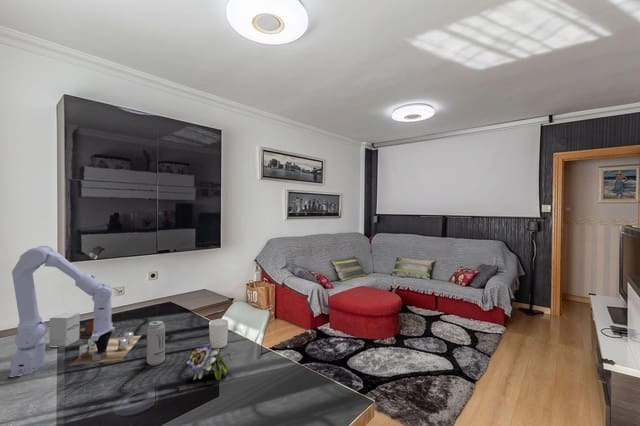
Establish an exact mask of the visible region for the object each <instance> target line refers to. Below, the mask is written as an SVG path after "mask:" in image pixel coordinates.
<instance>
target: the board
mask: <svg viewBox="0 0 640 426" xmlns="http://www.w3.org/2000/svg"><path fill="white" fill-rule="evenodd" d="M141 337H142V335H133V343H130V344H128V349H127V350H124V351H118V340H119V339H121V338H124V336H120V337H110V339H109V342H108V346H107V350H106V351H107V358H105V359H103V360H101V361H95V362H92V361H91V355H90V356H89V357H86V358H80V355H78V357H77V358H76V359H75V360H74V361H73V362H72V363H71V364H69V366H76V365H77V366H78V365H86V364H87V365H88V364H95V363H97V364H98V363H105V362H114V361H122V360H124V359H125V357H126V356H127V355H128V353H129V352H130V350H132V348H133V347H134V346H135V345H136V344H137V342H138V341H139V340H140V338H141ZM97 350H98V349H95V350H91V353H92V352H95V351H97Z"/></svg>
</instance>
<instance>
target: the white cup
mask: <svg viewBox="0 0 640 426" xmlns="http://www.w3.org/2000/svg"><path fill="white" fill-rule="evenodd" d="M208 326H209V327H208V330H209V331H208V332H209V343H210V342H211V341H213V342H214V345H213V347H212V349H221V348H225V347H227V345H228V335H229V320H228V319H226V318H217V319H212V320H211V321H209V322H208Z"/></svg>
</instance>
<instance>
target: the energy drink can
mask: <svg viewBox="0 0 640 426" xmlns="http://www.w3.org/2000/svg"><path fill="white" fill-rule="evenodd" d="M165 359H166V325H165V324H164V321H163V320H154V321H150V322H149V323H148V326H147V328H146V363H147V364H149V367H154V366H155V367H156V366H159V365H161V364H162V363H164V361H165Z"/></svg>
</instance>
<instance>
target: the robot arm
mask: <svg viewBox="0 0 640 426" xmlns="http://www.w3.org/2000/svg"><path fill="white" fill-rule="evenodd" d="M18 259H19V260H18V261H17V263H16V264H15V266H14V267H13V269H12V271H11V275H12V282H13V288H14V289H13V290H14V294H15V300H16V307H17V313H18V319H19V322H18V325H17V328H16V330H17V333H16V336H15V338H14V343H15V345H16V346H17V349H16V352H15V354H13V356H12V357H11V358H10V375H11V376H17V375H20V374H24V373H32V372H33V371H35V370H36V369H37V370H39V369H40V368H39V367H41V366H43V365H44V364H45V365H46V340H45V338H44V336H45V335H46V334H47V331H48V327H47V325H46V324H45V323H44V320H43V318H42V316H41V315H40V313H39V307H38V301H37V300H38V299H37V293H36V287H35V281H34V275H33V274H34V272H36V271H37V270H38V269H39V268H41V266H42V265H43V267H50V268H56V269H58V270H59V271H61V272H62V273H64V274H65V275H66V276H69V278H71V279H73V280H74V281H75V283H74V284H75V286H76V287H78V289H80V290H81V291H83V292H84V293H85V294H87V295H88V296H91V300H92V301H93V303H94V304H93V320H94V326H93V334H92V336H91V341H94V342H95V344H96V346H97V349H98V350H107V346H108V342H109V339H110V338H112V335H113V331H115V328H116V327H115V326H113V324H114V323H113V322H112V298H111V297H112V295H113V289H112V288H111V287H110V285H107V284H106V283H104V282H101V281H100V280H99V279H98V278H96V275H95V274H93V273H92V274H91V273H88V272H87V273H86V272H82V271H81V270H80V269H78V268H77V267H76V266H75V265H74V264H72V263H71V262H70V261H69V260H68V259H66V258H65V257H64V256H63V255H61V253H59V252H58V251H56V250H54V249H53V248H52V247H50V246H49V245H40V246H38V247H34V248H33V247H32V248H30V249H28V250H26V251H25V252H24V253H22V254H20V256H19V258H18ZM45 365H44V366H45ZM44 366H43V367H44ZM38 368H39V369H38ZM41 368H42V367H41ZM37 370H36V371H37ZM36 371H35V372H36ZM33 373H34V372H33ZM33 373H32V374H33Z"/></svg>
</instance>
